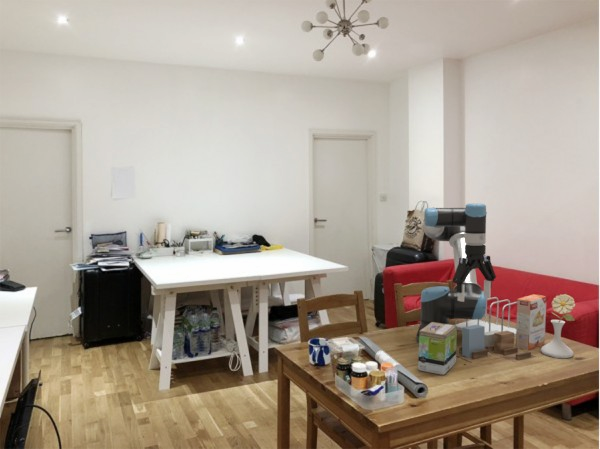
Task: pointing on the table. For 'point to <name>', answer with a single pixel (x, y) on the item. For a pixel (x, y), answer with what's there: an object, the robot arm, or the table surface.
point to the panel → (472, 339)
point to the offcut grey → (489, 338)
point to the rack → (511, 353)
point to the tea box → (437, 348)
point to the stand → (474, 354)
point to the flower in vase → (556, 345)
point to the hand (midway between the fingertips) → (474, 299)
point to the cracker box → (530, 321)
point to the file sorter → (489, 325)
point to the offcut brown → (503, 341)
